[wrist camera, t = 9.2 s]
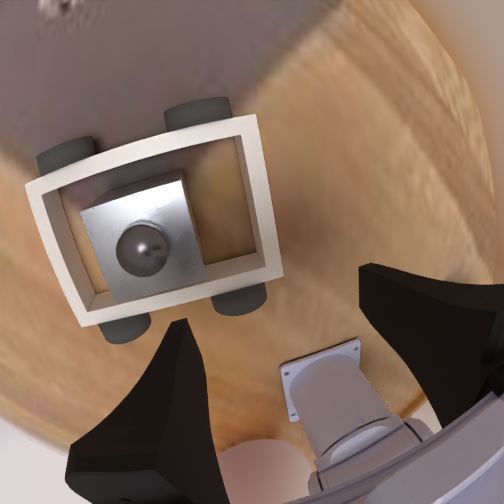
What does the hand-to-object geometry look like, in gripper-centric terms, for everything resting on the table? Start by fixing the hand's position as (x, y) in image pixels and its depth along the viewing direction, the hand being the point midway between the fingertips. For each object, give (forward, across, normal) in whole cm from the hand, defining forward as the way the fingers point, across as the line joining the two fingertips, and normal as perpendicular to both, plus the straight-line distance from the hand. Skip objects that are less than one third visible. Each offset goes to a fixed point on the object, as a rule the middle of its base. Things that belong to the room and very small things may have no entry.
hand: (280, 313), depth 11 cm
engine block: (+9, +5, -3) cm, 11 cm away
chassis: (+9, +5, -3) cm, 11 cm away
